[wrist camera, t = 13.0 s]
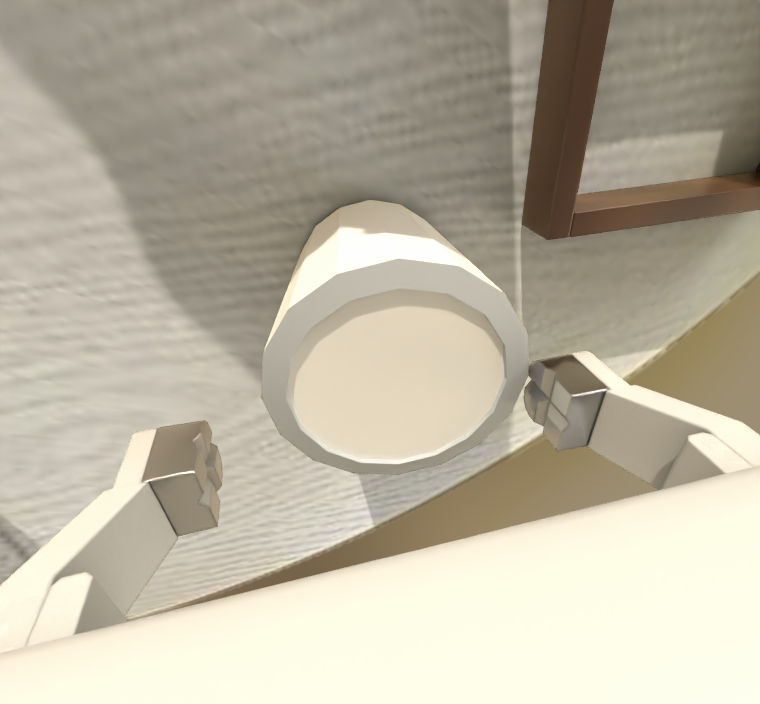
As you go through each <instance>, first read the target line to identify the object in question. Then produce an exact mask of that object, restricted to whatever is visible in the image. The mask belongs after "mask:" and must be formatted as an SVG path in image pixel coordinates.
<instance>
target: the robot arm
mask: <svg viewBox="0 0 760 704" xmlns="http://www.w3.org/2000/svg"><path fill="white" fill-rule="evenodd" d="M528 374H529V375H528V376H529V377H530V378H531V381H530V382H529V383H528V385H527V386H526V387H525V390H524V397H523V398H524V403H525V408H526V410H527V412H528V415H529V416H530V417H531V419H532V420H533V421H534V422H536V423H538V424H540V425H542V426H544V427H543V434H544V436H545V437H546V438H547V439H548V441H549V442H550V443H551V444H552V446H553V447H554V448H555V450H556V451H557V452H558V451H563V450H569V449H574V448H578V447H584V446H588V448H589V449H591V450H593V451H594V452H596V453H598V454H599V455H601V456H603V457H605V458H606V459H608V460H610V461H611V462H613V463H615V464H617V465H618V466H620V467H621V468H623V469H625V470H626V471H628V472H630V473H632V474H633V475H635V476H637V477H638V478H640V479H642V480H643V481H645V482H647V483H649V484H650V485H652V486H653V487H655V488H657V489H658V491H653V492H649V493H645V494H641V495H637V496H633V497H629V498H626V499H621V500H617V501H613V502H609V503H605V504H601V505H597V506H593V507H589V508H585V509H581V510H577V511H573V512H569V513H565V514H560V515H557V516H552V517H548V518H544V519H541V520H537V521H533V522H528V523H524V524H520V525H516V526H512V527H508V528H505V529H500V530H496V531H492V532H488V533H484V534H480V535H476V536H472V537H468V538H464V539H460V540H456V541H452V542H447V543H443V544H440V545H436V546H431V547H427V548H423V549H419V550H415V551H411V552H407V553H403V554H399V555H395V556H391V557H387V558H383V559H379V560H375V561H370V562H366V563H362V564H358V565H354V566H351V567H346V568H342V569H338V570H334V571H330V572H326V573H322V574H318V575H314V576H310V577H306V578H302V579H298V580H294V581H290V582H286V583H282V584H278V585H273V586H269V587H266V588H262V589H258V590H253V591H249V592H246V593H242V594H237V595H233V596H229V597H225V598H221V599H217V600H213V601H209V602H205V603H201V604H197V605H193V606H189V607H185V608H181V609H177V610H172V611H168V612H164V613H160V614H156V615H152V616H149V617H144V618H140V619H136V620H132V621H128V620H127V619H126V618H125V615H126V613H127V612H128V611H129V609H130V608H131V606H132V605H133V603H134V602H135V600H136V599H137V597H138V596H139V595H140V593H141V592H142V590H143V589H144V587H145V586H146V584H147V583H148V582H149V580H150V579H151V577H152V576H153V574H154V573H155V571H156V570H157V569H158V567H159V566H160V564H161V563H162V561H163V560H164V558H165V557H166V555H167V554H168V553H169V551H170V550H171V548H172V547H173V545H174V544H175V542H176V541H177V540H178V536H182V535H186V534H190V533H194V532H198V531H202V530H206V529H210V528H214V527H218V519H219V509H220V500H219V497H218V494H217V491H218V490H219V488H220V487H221V486H222V478H223V473H222V462H221V457H220V453H219V450H218V447H217V446H216V445H214V444H212V443H211V437H212V431H211V429H210V426H209V424H208V422H206V421H205V420H204V421H197V422H191V423H185V424H179V425H172V426H166V427H160V428H155V429H149V430H143V431H137V432H135V433H134V434H133V435H132V436H131V439H130V442H129V444H128V447H127V450H126V453H125V455H124V458H123V461H122V464H121V466H120V469H119V472H118V475H117V477H116V480H115V483H114V485H113V488H112V489H110V490H105V491H104V492H103V493H102V494H101V495H99V496H98V497H97V498H96V499H95V500H94V501H93V502H92V503H91V504H89V505H88V506H87V507H86V508H85V509H84V510H83V511H82V512H81V513H80V514H78V515H77V516H76V517H75V518H74V519H73V520H72V521H71V522H70V523H69V524H67V525H66V526H65V527H64V528H63V529H62V530H61V531H60V532H59V533H57V534H56V535H55V536H54V537H53V538H52V539H51V540H50V541H49V542H48V543H46V544H45V545H44V546H43V547H42V548H41V549H40V550H39V551H38V552H36V553H35V554H34V555H33V556H32V557H31V558H30V559H29V560H28V561H27V562H25V563H24V564H23V565H22V566H21V567H20V568H19V569H18V570H17V571H15V572H14V573H13V574H12V575H11V576H10V577H9V578H8V579H7V580H6V581H4V582H3V583H2V584H1V585H0V704H760V435H759V434H757V433H756V432H755V431H754V430H752V429H751V428H749V427H748V426H747V425H745V424H744V423H743V422H740V421H737V420H734V419H732V418H729V417H726V416H723V415H720V414H717V413H714V412H712V411H709V410H706V409H703V408H700V407H697V406H694V405H692V404H689V403H686V402H683V401H680V400H677V399H674V398H671V397H668V396H665V395H663V394H660V393H657V392H654V391H651V390H649V389H645V388H643V387H640V386H637V385H633V386H630V385H629V384H627V383H626V382H625V381H624V380H623V379H621V378H620V377H619V376H618V375H617V374H616V373H614V372H613V371H612V370H611V369H610V368H609V367H607V366H606V365H605V364H604V363H603V362H601V361H600V360H599V359H598V358H597V357H596V356H594V355H593V354H592V353H591V352H588V351H581V352H576V353H571V354H567V355H563V356H558V357H553V358H547V359H542V360H537V361H532V363H531V364H530V366H529V369H528Z"/></svg>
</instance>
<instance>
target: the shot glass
mask: <svg viewBox="0 0 760 704" xmlns="http://www.w3.org/2000/svg"><path fill="white" fill-rule="evenodd" d="M528 375H529V374H528V332H527V331H526V329H525V327H524V326H523V324H522V322H521V320H520V319H519V317H518V315H517V314H516V312H515V310H514V309H513V307H512V305H511V303H510V302H509V300H508V298H507V297H506V295H505V293H504V292H502V291H501V290H500V289H499V288H498V287H497V286H496V285H495V284H494V283H493V282H492V281H491V280H489V279H488V278H487V277H486V276H485V275H484V274H483V273H482V272H481V271H480V270H479V269H478V268H476V267H475V266H474V265H473V264H472V263H471V262H470V261H469V260H468V259H467V258H466V257H465V256H463V255H462V254H461V253H460V252H459V251H458V250H457V249H456V248H455V247H454V246H453V245H452V244H450V243H449V242H448V241H447V240H446V239H445V238H444V237H443V236H442V235H441V234H440V233H439V232H437V231H436V230H435V229H434V228H433V227H432V226H431V225H430V224H429V223H428V222H427V221H426V220H424V219H423V218H421V217H419V216H418V215H416V214H415V213H413V212H412V211H410V210H409V209H407V208H405V207H404V206H402V205H401V204H395V203H388V202H381V201H375V200H367V201H363V202H360V203H356V204H352V205H348V206H344V207H340V208H339V209H337V210H336V211H335V212H333V213H332V214H331V215H329V216H328V217H327V218H326V219H324V220H323V221H322V222H320V223H319V224H318V225H316V226H315V228H314V230H313V232H312V233H311V235H310V237H309V239H308V241H307V242H306V244H305V246H304V248H303V250H302V252H301V254H300V257H299V259H298V262H297V265H296V267H295V270H294V272H293V275H292V278H291V280H290V283H289V286H288V288H287V291H286V293H285V296H284V299H283V301H282V304H281V307H280V309H279V312H278V315H277V317H276V320H275V322H274V325H273V328H272V330H271V333H270V336H269V338H268V341H267V343H266V346H265V349H264V351H263V357H262V393H261V398H262V400H263V402H264V404H265V406H266V408H267V410H268V412H269V414H270V416H271V418H272V420H273V421H274V423H275V425H276V427H277V429H278V431H279V433H280V435H281V436H283V437H284V438H285V439H287V440H288V441H289V442H290V443H292V444H293V445H294V446H296V447H297V448H298V449H299V450H301V451H302V452H303V453H305V454H306V455H307V456H308V457H310V458H311V459H312V460H314V461H317V462H321V463H324V464H327V465H330V466H333V467H336V468H339V469H342V470H345V471H348V472H351V473H360V474H395V475H398V474H403V473H407V472H411V471H415V470H420V469H424V468H428V467H432V466H437V465H441V464H443V463H445V462H447V461H449V460H450V459H452V458H454V457H456V456H458V455H460V454H462V453H463V452H465V451H467V450H469V449H471V448H473V447H475V446H477V445H478V444H480V443H481V442H482V441H483V440H484V439H485V438H486V437H487V436H488V435H489V434H490V433H491V432H492V431H493V430H494V429H495V428H496V427H497V426H498V425H499V424H500V423H501V422H502V421H503V420H504V419H505V418H506V417H507V416H508V415H509V414H510V413H511V412H512V410H513V407H514V405H515V403H516V401H517V399H518V397H519V394H520V392H521V390H522V388H523V386H524V383H525V381H526V379H527V377H528Z"/></svg>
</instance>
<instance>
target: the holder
mask: <svg viewBox="0 0 760 704" xmlns="http://www.w3.org/2000/svg"><path fill="white" fill-rule="evenodd" d="M613 2H614V0H549V3H548V12H547V20H546V28H545V36H544V45H543V53H542V61H541V69H540V77H539V86H538V94H537V102H536V110H535V119H534V127H533V135H532V143H531V151H530V160H529V168H528V176H527V184H526V193H525V201H524V209H523V217H522V225H524V226H526V227H527V228H529V229H530V230H532V231H534V232H535V233H537V234H539V235H540V236H542V237H543V238H545V239H547V240H551V239H558V238H565V237H574V236H581V235H588V234H595V233H602V232H609V231H616V230H623V229H630V228H637V227H644V226H650V225H657V224H664V223H671V222H678V221H685V220H692V219H699V218H706V217H713V216H720V215H726V214H733V213H740V212H747V211H754V210H760V165H759V167H758V170H757V171H755V172H748V173H740V174H732V175H725V176H717V177H709V178H702V179H694V180H686V181H679V182H671V183H664V184H656V185H648V186H641V187H633V188H625V189H618V190H610V191H602V192H595V193H587V194H580V195H577V193H578V188H579V182H580V177H581V172H582V166H583V161H584V156H585V150H586V145H587V140H588V134H589V129H590V124H591V119H592V113H593V108H594V103H595V97H596V92H597V87H598V81H599V76H600V71H601V65H602V60H603V55H604V49H605V44H606V39H607V34H608V28H609V23H610V18H611V12H612V7H613Z"/></svg>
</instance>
